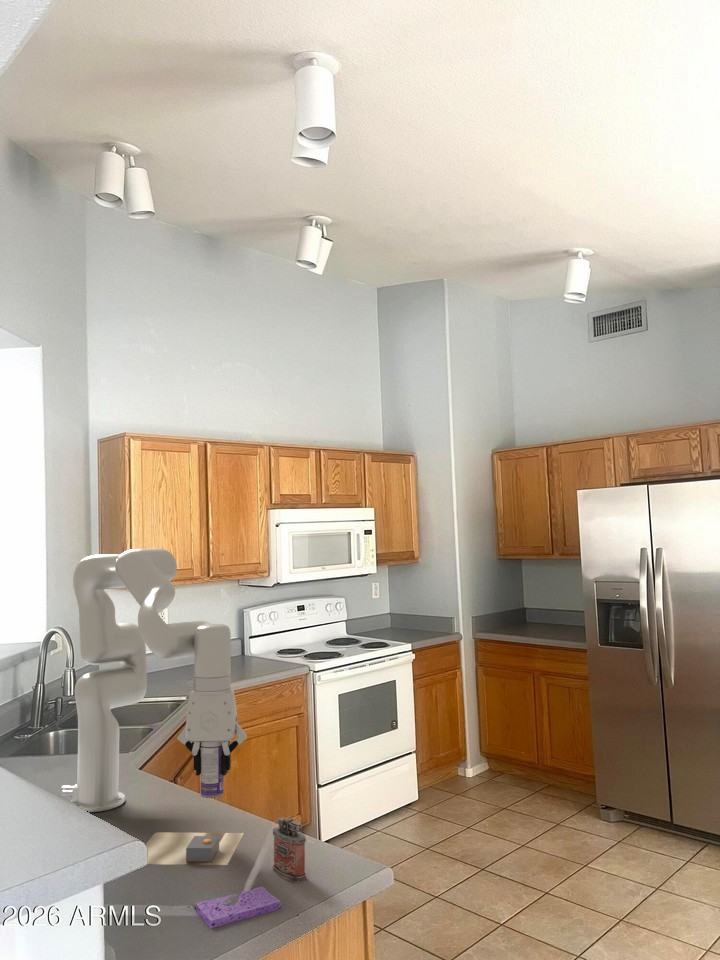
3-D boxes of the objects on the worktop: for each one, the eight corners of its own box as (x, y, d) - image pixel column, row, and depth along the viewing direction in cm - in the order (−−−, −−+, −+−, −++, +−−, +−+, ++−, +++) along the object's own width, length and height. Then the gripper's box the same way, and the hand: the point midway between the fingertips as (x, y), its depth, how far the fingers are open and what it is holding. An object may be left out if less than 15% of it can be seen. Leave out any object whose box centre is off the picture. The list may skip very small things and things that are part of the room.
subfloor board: (128, 870, 143) (128, 864, 144) (155, 838, 159) (155, 832, 159) (227, 871, 142) (227, 864, 143) (244, 838, 158) (244, 832, 159)
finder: (186, 861, 144) (186, 846, 144) (194, 849, 150) (194, 834, 150) (211, 861, 144) (211, 846, 144) (219, 849, 150) (219, 834, 150)
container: (213, 789, 159) (213, 716, 160) (228, 793, 156) (228, 719, 157) (195, 795, 155) (196, 720, 157) (210, 799, 152) (210, 723, 154)
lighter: (268, 870, 143) (268, 816, 143) (282, 865, 145) (282, 811, 146) (295, 884, 137) (295, 827, 138) (310, 878, 139) (309, 822, 140)
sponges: (195, 914, 127) (195, 902, 127) (263, 895, 134) (263, 884, 134) (210, 932, 121) (210, 920, 121) (281, 911, 128) (281, 900, 128)
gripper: (167, 687, 154) (166, 779, 153) (248, 687, 154) (249, 779, 152) (177, 681, 162) (177, 768, 160) (255, 680, 161) (256, 768, 159)
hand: (212, 772), depth 156 cm, fingers closed on container, 4 cm apart
